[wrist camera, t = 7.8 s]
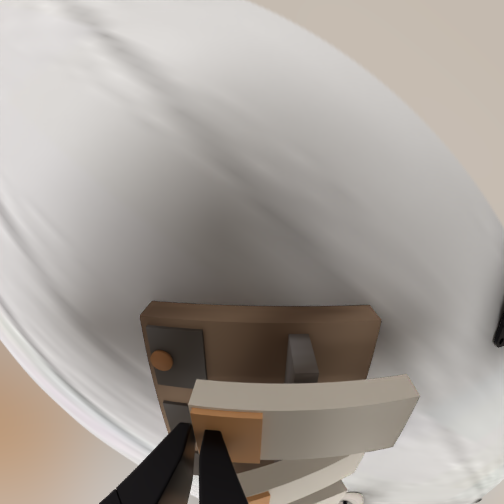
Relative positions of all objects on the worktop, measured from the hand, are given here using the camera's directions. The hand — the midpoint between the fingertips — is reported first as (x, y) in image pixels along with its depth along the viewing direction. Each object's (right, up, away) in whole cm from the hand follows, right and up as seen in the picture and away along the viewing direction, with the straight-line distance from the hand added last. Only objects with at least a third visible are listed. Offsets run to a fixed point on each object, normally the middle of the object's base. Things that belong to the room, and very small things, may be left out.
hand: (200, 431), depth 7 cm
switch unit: (+2, -3, +6) cm, 7 cm away
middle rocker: (+3, -4, +1) cm, 6 cm away
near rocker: (+3, 0, 0) cm, 3 cm away
